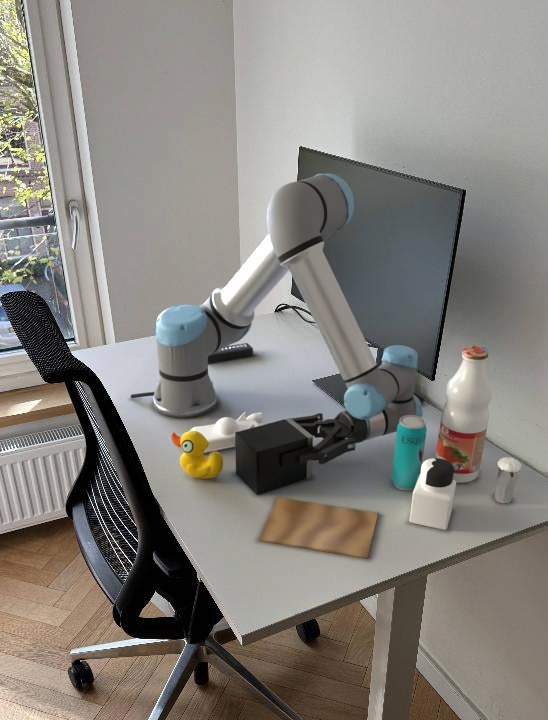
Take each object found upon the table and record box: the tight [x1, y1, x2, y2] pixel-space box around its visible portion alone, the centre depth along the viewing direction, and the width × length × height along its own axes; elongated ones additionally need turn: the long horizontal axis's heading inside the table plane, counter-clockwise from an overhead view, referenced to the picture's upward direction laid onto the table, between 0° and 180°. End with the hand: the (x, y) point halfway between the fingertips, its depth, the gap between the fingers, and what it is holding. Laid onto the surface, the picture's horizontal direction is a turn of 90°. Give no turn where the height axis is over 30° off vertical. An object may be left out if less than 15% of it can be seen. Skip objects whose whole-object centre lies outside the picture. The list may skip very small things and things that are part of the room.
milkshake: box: [494, 456, 528, 504], centre depth 149 cm, size 4×5×10 cm
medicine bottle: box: [408, 457, 457, 531], centre depth 143 cm, size 7×7×12 cm
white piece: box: [189, 411, 264, 454], centre depth 168 cm, size 10×20×6 cm, turn 111°
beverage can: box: [391, 415, 428, 492], centre depth 152 cm, size 6×6×15 cm
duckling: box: [170, 430, 224, 480], centre depth 154 cm, size 11×5×10 cm, turn 68°
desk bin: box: [234, 417, 314, 496], centre depth 155 cm, size 13×9×10 cm
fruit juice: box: [434, 345, 494, 484], centre depth 153 cm, size 9×9×28 cm
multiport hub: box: [208, 342, 254, 364], centre depth 209 cm, size 4×14×2 cm, turn 116°
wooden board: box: [258, 497, 379, 559], centre depth 142 cm, size 20×14×1 cm
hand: (269, 450), depth 154 cm, fingers closed on desk bin, 9 cm apart
